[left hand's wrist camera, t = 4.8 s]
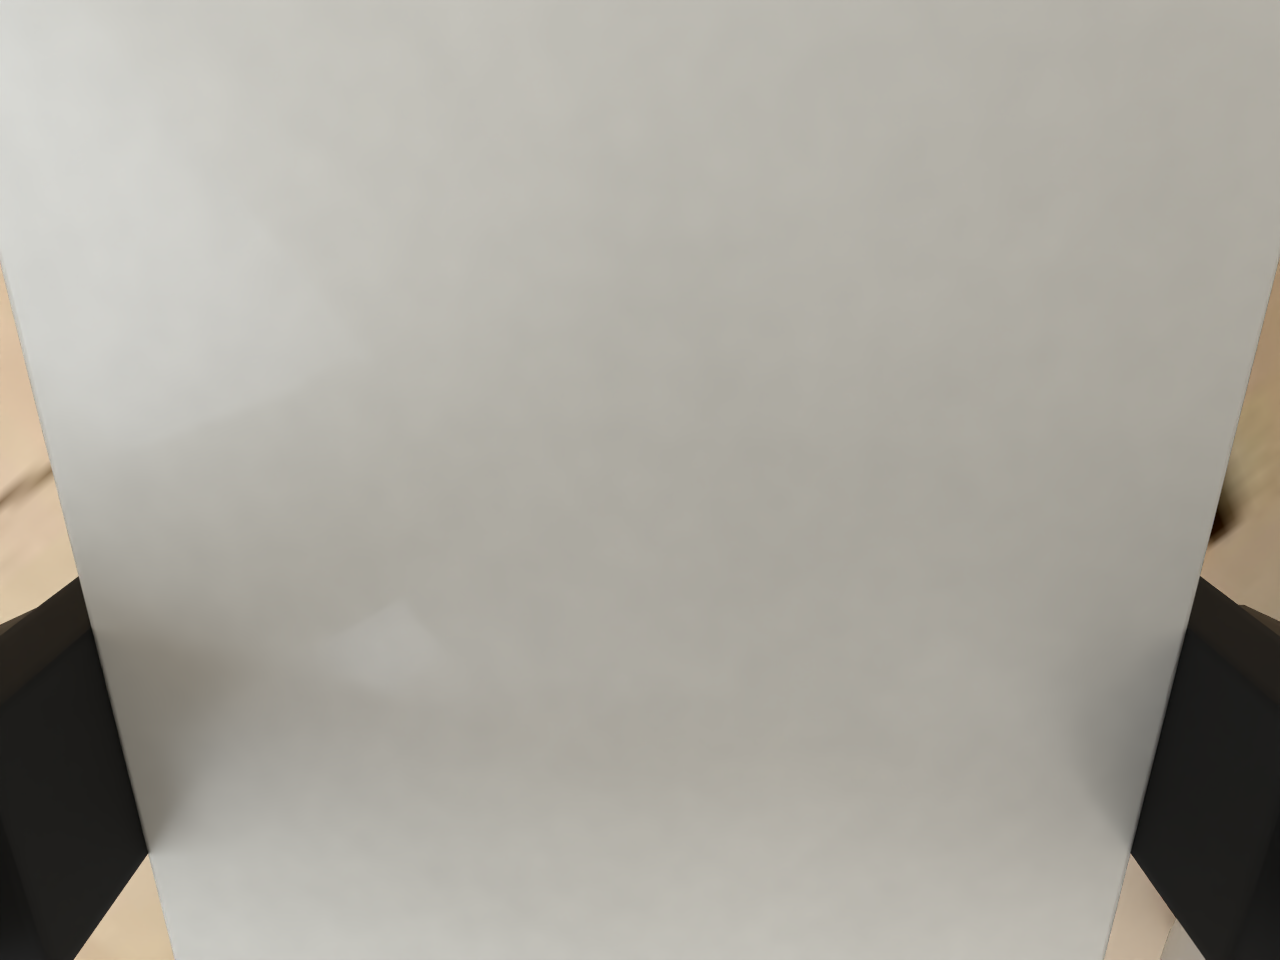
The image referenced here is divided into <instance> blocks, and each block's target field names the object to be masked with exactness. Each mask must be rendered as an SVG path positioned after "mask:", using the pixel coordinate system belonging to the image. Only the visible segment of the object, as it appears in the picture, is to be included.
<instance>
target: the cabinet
mask: <svg viewBox="0 0 1280 960" xmlns="http://www.w3.org/2000/svg"><path fill="white" fill-rule="evenodd" d="M1279 258H1280V0H0V264H1V268H2V272H3V276H4V280H5V284H6V288H7V292H8V296H9V300H10V304H11V308H12V312H13V316H14V320H15V324H16V328H17V332H18V336H19V340H20V344H21V348H22V352H23V356H24V360H25V364H26V368H27V372H28V376H29V380H30V384H31V388H32V392H33V396H34V400H35V404H36V408H37V412H38V416H39V420H40V424H41V428H42V432H43V436H44V440H45V444H46V448H47V452H48V456H49V460H50V464H51V467H52V471H53V475H54V479H55V483H56V487H57V491H58V495H59V499H60V503H61V507H62V511H63V515H64V519H65V523H66V527H67V531H68V535H69V539H70V543H71V547H72V551H73V555H74V559H75V563H76V567H77V571H78V575H79V579H80V583H81V587H82V591H83V595H84V599H85V603H86V607H87V611H88V615H89V619H90V623H91V627H92V631H93V635H94V639H95V643H96V647H97V651H98V655H99V659H100V663H101V667H102V671H103V675H104V679H105V683H106V687H107V691H108V695H109V699H110V703H111V707H112V711H113V715H114V719H115V723H116V727H117V731H118V735H119V739H120V743H121V747H122V751H123V755H124V759H125V763H126V767H127V771H128V775H129V779H130V783H131V787H132V791H133V795H134V799H135V803H136V807H137V811H138V815H139V819H140V823H141V827H142V831H143V835H144V839H145V843H146V847H147V851H148V855H149V859H150V863H151V867H152V870H153V874H154V878H155V882H156V886H157V890H158V894H159V898H160V902H161V906H162V910H163V914H164V918H165V922H166V926H167V930H168V934H169V938H170V942H171V946H172V950H173V954H174V958H175V960H1104V957H1105V953H1106V949H1107V945H1108V941H1109V937H1110V933H1111V929H1112V925H1113V921H1114V917H1115V913H1116V909H1117V905H1118V901H1119V897H1120V893H1121V889H1122V885H1123V881H1124V877H1125V873H1126V869H1127V865H1128V861H1129V857H1130V853H1131V849H1132V845H1133V841H1134V837H1135V833H1136V829H1137V825H1138V821H1139V817H1140V813H1141V809H1142V805H1143V801H1144V797H1145V793H1146V789H1147V785H1148V781H1149V777H1150V773H1151V769H1152V765H1153V761H1154V757H1155V753H1156V749H1157V745H1158V741H1159V737H1160V733H1161V729H1162V725H1163V721H1164V717H1165V713H1166V709H1167V705H1168V701H1169V697H1170V693H1171V689H1172V685H1173V681H1174V677H1175V673H1176V669H1177V665H1178V661H1179V657H1180V653H1181V649H1182V645H1183V641H1184V637H1185V633H1186V629H1187V625H1188V621H1189V617H1190V613H1191V609H1192V605H1193V601H1194V597H1195V593H1196V589H1197V585H1198V581H1199V577H1200V573H1201V569H1202V565H1203V561H1204V557H1205V553H1206V549H1207V545H1208V541H1209V537H1210V533H1211V529H1212V525H1213V521H1214V517H1215V513H1216V509H1217V505H1218V501H1219V497H1220V493H1221V489H1222V485H1223V481H1224V477H1225V473H1226V469H1227V465H1228V461H1229V457H1230V453H1231V449H1232V445H1233V441H1234V437H1235V433H1236V429H1237V425H1238V421H1239V417H1240V413H1241V409H1242V405H1243V401H1244V397H1245V393H1246V389H1247V385H1248V382H1249V378H1250V374H1251V370H1252V366H1253V362H1254V358H1255V354H1256V350H1257V346H1258V342H1259V338H1260V334H1261V330H1262V326H1263V322H1264V318H1265V314H1266V310H1267V306H1268V302H1269V298H1270V294H1271V290H1272V286H1273V282H1274V278H1275V274H1276V270H1277V266H1278V262H1279Z"/></svg>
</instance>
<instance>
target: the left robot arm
mask: <svg viewBox="0 0 1280 960" xmlns="http://www.w3.org/2000/svg"><path fill="white" fill-rule="evenodd" d="M147 854H148V851H147V847H146V843H145V839H144V835H143V831H142V827H141V823H140V819H139V815H138V811H137V807H136V803H135V799H134V795H133V791H132V787H131V783H130V779H129V775H128V771H127V767H126V763H125V759H124V755H123V751H122V747H121V743H120V739H119V735H118V731H117V727H116V723H115V719H114V715H113V711H112V707H111V703H110V699H109V695H108V691H107V687H106V683H105V679H104V675H103V671H102V667H101V663H100V659H99V655H98V651H97V647H96V643H95V639H94V635H93V631H92V627H91V623H90V619H89V615H88V611H87V607H86V603H85V599H84V595H83V591H82V587H81V583H80V579H79V576H78V577H77V578H76V579H74V580H73V581H72V582H70V583H69V584H68V585H67V586H65V587H64V588H63V589H61V590H60V591H59V592H57V593H56V594H55V595H53V596H52V597H51V598H49V599H48V600H47V601H45V602H44V603H43V604H41V605H40V606H39V607H37V608H35V609H33V610H31V611H29V612H27V613H24V614H22V615H20V616H18V617H16V618H14V619H12V620H9V621H7V622H5V623H3V624H1V625H0V960H74V958H75V957H76V955H77V954H78V953H79V951H80V950H81V948H82V947H83V946H84V944H85V943H86V941H87V940H88V938H89V937H90V936H91V934H92V933H93V931H94V930H95V928H96V927H97V926H98V924H99V923H100V921H101V920H102V918H103V917H104V916H105V914H106V913H107V911H108V910H109V908H110V907H111V906H112V904H113V903H114V901H115V900H116V898H117V897H118V896H119V894H120V893H121V891H122V890H123V888H124V887H125V886H126V884H127V883H128V881H129V880H130V879H131V877H132V876H133V874H134V873H135V871H136V870H137V869H138V867H139V866H140V864H141V863H142V861H143V860H144V859H145V857H146V856H147ZM1131 854H1132V856H1133V857H1134V858H1135V860H1136V861H1137V863H1138V864H1139V866H1140V867H1141V868H1142V870H1143V871H1144V873H1145V874H1146V876H1147V877H1148V878H1149V880H1150V881H1151V883H1152V884H1153V886H1154V887H1155V888H1156V890H1157V891H1158V893H1159V894H1160V896H1161V897H1162V898H1163V900H1164V901H1165V903H1166V904H1167V906H1168V907H1169V908H1170V910H1171V911H1172V913H1173V914H1174V916H1175V917H1176V918H1177V920H1178V921H1179V923H1180V924H1181V926H1182V927H1183V928H1184V930H1185V931H1186V933H1187V934H1188V936H1189V937H1190V938H1191V940H1192V941H1193V943H1194V944H1195V945H1196V947H1197V948H1198V950H1199V951H1200V953H1201V954H1202V955H1203V957H1204V958H1205V960H1280V621H1277V620H1275V619H1273V618H1271V617H1269V616H1267V615H1264V614H1262V613H1260V612H1258V611H1256V610H1254V609H1252V608H1249V607H1247V606H1245V605H1238V604H1236V603H1235V602H1234V601H1232V600H1231V599H1230V598H1228V597H1227V596H1226V595H1224V594H1223V593H1222V592H1220V591H1219V590H1218V589H1216V588H1215V587H1214V586H1212V585H1211V584H1210V583H1208V582H1207V581H1206V580H1204V579H1203V578H1202V577H1201V576H1200V577H1199V581H1198V585H1197V589H1196V593H1195V597H1194V601H1193V605H1192V609H1191V613H1190V617H1189V621H1188V625H1187V629H1186V633H1185V637H1184V641H1183V645H1182V649H1181V653H1180V657H1179V661H1178V665H1177V669H1176V673H1175V677H1174V681H1173V685H1172V689H1171V693H1170V697H1169V701H1168V705H1167V709H1166V713H1165V717H1164V721H1163V725H1162V729H1161V733H1160V737H1159V741H1158V745H1157V749H1156V753H1155V757H1154V761H1153V765H1152V769H1151V773H1150V777H1149V781H1148V785H1147V789H1146V793H1145V797H1144V801H1143V805H1142V809H1141V813H1140V817H1139V821H1138V825H1137V829H1136V833H1135V837H1134V841H1133V845H1132V849H1131Z"/></svg>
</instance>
